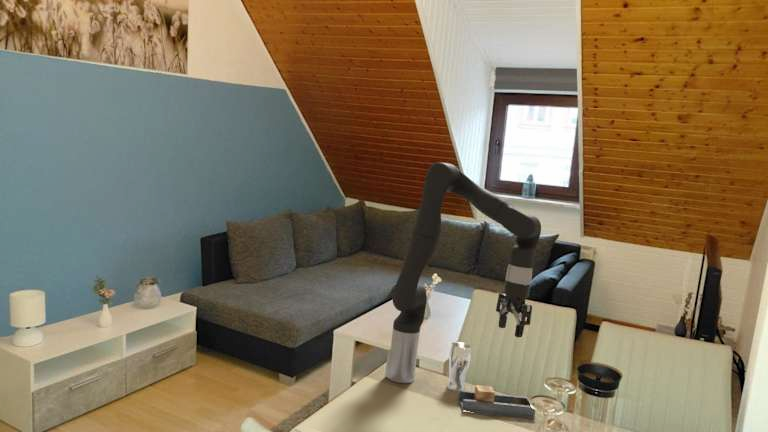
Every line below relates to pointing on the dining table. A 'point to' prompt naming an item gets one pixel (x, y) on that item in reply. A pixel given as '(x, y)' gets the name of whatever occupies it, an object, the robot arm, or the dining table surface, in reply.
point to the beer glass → (458, 365)
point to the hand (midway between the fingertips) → (509, 332)
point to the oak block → (484, 393)
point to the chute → (497, 405)
